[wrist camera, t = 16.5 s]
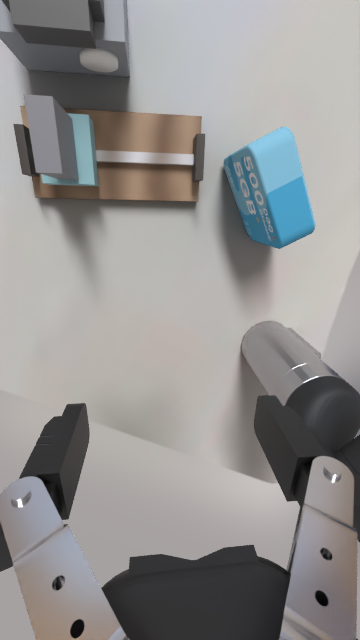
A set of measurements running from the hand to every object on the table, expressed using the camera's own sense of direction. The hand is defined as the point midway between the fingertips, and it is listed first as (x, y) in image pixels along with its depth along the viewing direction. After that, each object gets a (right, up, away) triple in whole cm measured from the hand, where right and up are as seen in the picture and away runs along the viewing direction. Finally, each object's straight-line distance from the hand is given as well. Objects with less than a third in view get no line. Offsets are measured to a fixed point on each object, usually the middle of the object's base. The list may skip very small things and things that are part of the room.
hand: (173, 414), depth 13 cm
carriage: (-13, +25, +21) cm, 36 cm away
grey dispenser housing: (-12, +38, +19) cm, 44 cm away
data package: (+11, +23, +28) cm, 38 cm away
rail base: (-8, +26, +25) cm, 37 cm away
